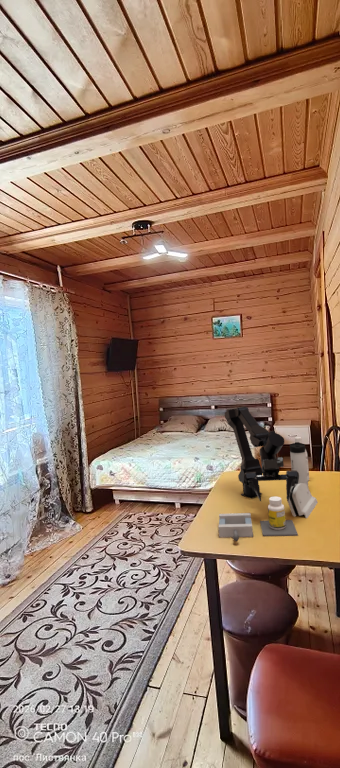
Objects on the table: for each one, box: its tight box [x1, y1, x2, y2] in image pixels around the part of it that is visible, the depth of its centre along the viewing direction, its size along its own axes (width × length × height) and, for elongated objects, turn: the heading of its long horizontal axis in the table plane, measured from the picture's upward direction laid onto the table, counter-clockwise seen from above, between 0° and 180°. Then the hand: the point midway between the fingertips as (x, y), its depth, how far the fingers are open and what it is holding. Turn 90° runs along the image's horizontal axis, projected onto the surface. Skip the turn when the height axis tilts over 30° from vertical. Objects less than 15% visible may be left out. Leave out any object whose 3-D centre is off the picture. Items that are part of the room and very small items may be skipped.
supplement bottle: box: [267, 496, 286, 530], centre depth 127 cm, size 5×5×10 cm
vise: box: [217, 512, 254, 542], centre depth 126 cm, size 16×11×4 cm, turn 171°
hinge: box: [286, 483, 318, 519], centre depth 141 cm, size 17×5×10 cm, turn 146°
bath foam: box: [294, 436, 310, 481], centre depth 173 cm, size 7×7×20 cm
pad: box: [259, 519, 299, 537], centre depth 127 cm, size 11×11×1 cm
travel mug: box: [289, 441, 309, 488], centre depth 161 cm, size 6×7×20 cm
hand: (274, 500), depth 130 cm, fingers open, 9 cm apart
